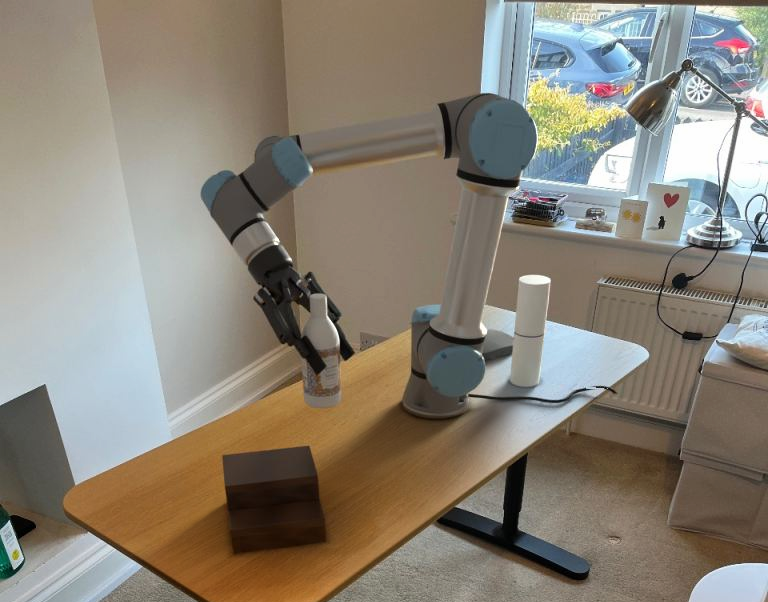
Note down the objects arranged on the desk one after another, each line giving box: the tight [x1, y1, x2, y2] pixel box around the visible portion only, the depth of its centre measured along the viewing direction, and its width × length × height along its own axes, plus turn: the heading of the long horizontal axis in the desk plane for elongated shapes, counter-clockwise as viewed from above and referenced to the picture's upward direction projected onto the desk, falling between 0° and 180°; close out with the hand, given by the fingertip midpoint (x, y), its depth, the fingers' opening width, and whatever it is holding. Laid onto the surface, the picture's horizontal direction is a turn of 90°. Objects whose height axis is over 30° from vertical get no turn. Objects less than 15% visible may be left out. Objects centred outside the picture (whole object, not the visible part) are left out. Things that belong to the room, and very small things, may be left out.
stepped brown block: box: [221, 445, 327, 555], centre depth 136 cm, size 16×17×10 cm
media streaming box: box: [482, 328, 514, 361], centre depth 205 cm, size 15×15×3 cm
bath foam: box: [300, 294, 342, 409], centre depth 137 cm, size 7×7×20 cm
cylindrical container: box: [509, 274, 552, 388], centre depth 181 cm, size 7×7×25 cm
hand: (336, 363), depth 136 cm, fingers closed on bath foam, 7 cm apart
